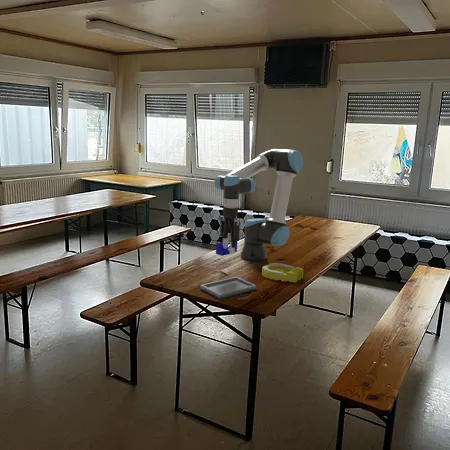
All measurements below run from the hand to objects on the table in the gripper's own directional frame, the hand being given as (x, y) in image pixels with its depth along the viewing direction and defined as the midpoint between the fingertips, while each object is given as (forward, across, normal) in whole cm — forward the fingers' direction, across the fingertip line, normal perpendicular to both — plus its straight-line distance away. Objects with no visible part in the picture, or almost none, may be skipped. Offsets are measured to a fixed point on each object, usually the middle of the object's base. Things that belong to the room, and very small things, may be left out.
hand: (228, 252), depth 229 cm
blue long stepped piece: (0, 0, -1) cm, 1 cm away
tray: (+14, +13, -10) cm, 21 cm away
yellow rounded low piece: (+14, +12, +26) cm, 32 cm away
